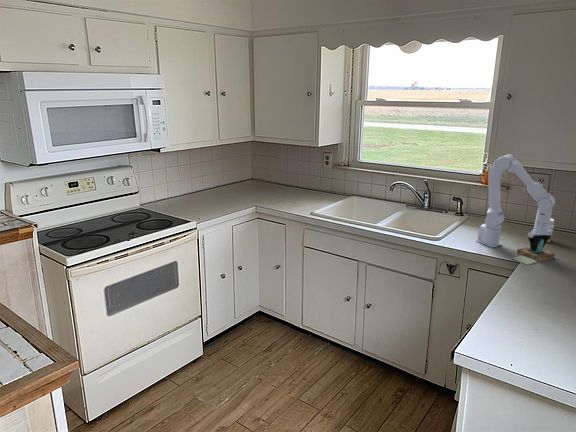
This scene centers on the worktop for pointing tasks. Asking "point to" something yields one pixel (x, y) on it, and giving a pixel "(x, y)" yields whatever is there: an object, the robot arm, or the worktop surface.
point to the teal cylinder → (539, 247)
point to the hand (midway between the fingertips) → (536, 249)
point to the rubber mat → (525, 260)
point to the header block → (537, 257)
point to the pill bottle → (551, 228)
